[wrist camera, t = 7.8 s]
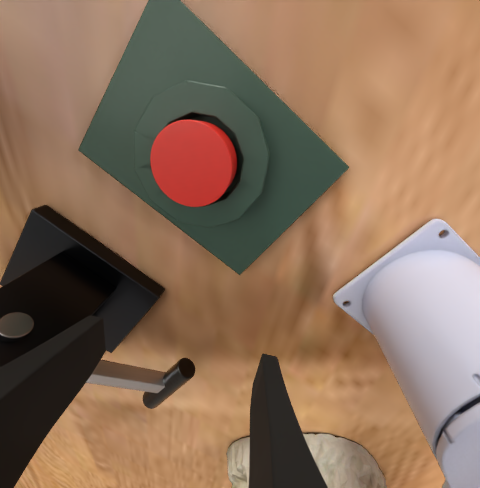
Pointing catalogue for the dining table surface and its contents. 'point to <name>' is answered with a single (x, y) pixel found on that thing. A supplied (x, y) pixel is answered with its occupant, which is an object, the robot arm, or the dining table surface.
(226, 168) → the button
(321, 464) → the grey rock formation
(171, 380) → the lever
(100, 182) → the dining table surface
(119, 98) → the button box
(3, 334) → the bracket
